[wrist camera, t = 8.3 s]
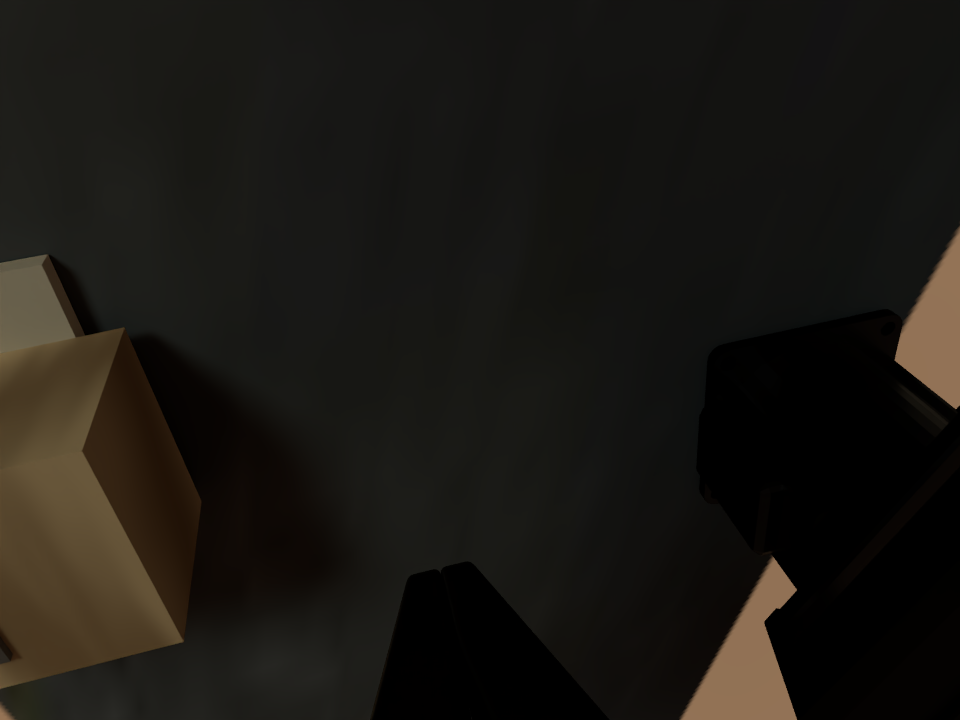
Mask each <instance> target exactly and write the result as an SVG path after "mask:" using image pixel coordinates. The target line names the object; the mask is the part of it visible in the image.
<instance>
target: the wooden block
mask: <svg viewBox="0 0 960 720" xmlns="http://www.w3.org/2000/svg"><path fill="white" fill-rule="evenodd" d="M201 502H202V501H201V499H200V497H199V495H198V492H197V490H196V488H195V486H194V483H193V481H192V479H191V476H190V474H189V472H188V470H187V467H186V465H185V463H184V461H183V458H182V456H181V454H180V452H179V449H178V447H177V445H176V443H175V440H174V438H173V436H172V434H171V431H170V429H169V427H168V425H167V422H166V420H165V418H164V415H163V413H162V411H161V409H160V406H159V404H158V402H157V400H156V397H155V395H154V393H153V391H152V388H151V386H150V384H149V382H148V379H147V377H146V375H145V373H144V370H143V368H142V366H141V364H140V361H139V359H138V357H137V354H136V352H135V350H134V348H133V345H132V343H131V341H130V339H129V336H128V334H127V332H126V330H125V327H124V328H120V329H115V330H110V331H105V332H101V333H96V334H91V335H86V336H81V337H77V338H72V339H67V340H62V341H58V342H53V343H48V344H43V345H38V346H34V347H29V348H24V349H19V350H15V351H10V352H5V353H0V689H1V688H5V687H9V686H13V685H17V684H20V683H24V682H28V681H32V680H36V679H40V678H44V677H48V676H52V675H56V674H60V673H64V672H67V671H71V670H75V669H79V668H83V667H87V666H91V665H95V664H99V663H103V662H107V661H110V660H114V659H118V658H122V657H126V656H130V655H134V654H138V653H142V652H146V651H150V650H154V649H157V648H161V647H165V646H169V645H173V644H177V643H181V642H184V635H185V627H186V620H187V612H188V604H189V596H190V588H191V580H192V572H193V565H194V557H195V549H196V541H197V533H198V525H199V518H200V510H201Z"/></svg>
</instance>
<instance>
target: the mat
mask: <svg viewBox="0 0 960 720" xmlns="http://www.w3.org/2000/svg"><path fill="white" fill-rule="evenodd" d="M81 336H85V334H84V332H83V330H82V327H81V325H80V323H79V321H78V319H77V316H76V314H75V312H74V310H73V308H72V306H71V303H70V301H69V299H68V297H67V295H66V293H65V290H64V288H63V286H62V284H61V282H60V279H59V277H58V275H57V273H56V271H55V269H54V266H53V264H52V262H51V260H50V258H49V255H48V254H47V255H41V256H36V257H30V258H25V259H19V260H14V261H8V262H3V263H0V353H5V352H10V351H15V350H19V349H24V348H29V347H34V346H38V345H43V344H48V343H53V342H58V341H62V340H67V339H72V338H77V337H81Z"/></svg>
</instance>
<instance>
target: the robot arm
mask: <svg viewBox="0 0 960 720" xmlns="http://www.w3.org/2000/svg"><path fill="white" fill-rule="evenodd" d="M885 324H886V325H885ZM884 325H885V326H884ZM883 326H884V327H883ZM882 327H883V328H882ZM901 329H902V319H901V318H900V317H899V316H898V315H897V314H895V313H894V312H892V311H890V310H888V309H883V310H878V311H874V312H869V313H864V314H860V315H855V316H851V317H846V318H841V319H837V320H832V321H828V322H823V323H818V324H814V325H809V326H805V327H800V328H796V329H791V330H786V331H782V332H777V333H773V334H768V335H763V336H759V337H754V338H750V339H745V340H740V341H736V342H731V343H727V344H723V345H720V346H718V347H716V348H715V349H714V350H712V352H711V353H710V355H709V357H708V361H707V377H706V392H705V408H703V410H702V412H701V414H700V417H699V433H698V450H697V466H696V469H697V472H698V473H699V475H700V485H699V490H700V493H701V495H702V496H703V498H704V499H705V501H706V502H707V503H710V504H717V503H720V505H721V506H722V508H723V509H724V511H725V512H726V513H727V515H728V516H729V518H730V519H731V521H732V522H733V524H734V525H735V526H736V528H737V529H738V531H739V532H740V534H741V535H742V536H743V538H744V539H745V541H746V542H747V544H748V545H749V547H750V548H751V549H752V550H753V551H754V552H756V553H757V554H759V555H766V554H770V553H771V554H772V556H773V557H774V558H775V560H776V561H777V562H778V564H779V565H780V567H781V568H782V569H783V571H784V572H785V574H786V575H787V576H788V578H789V579H790V581H791V582H792V583H793V585H794V586H795V588H796V589H797V591H796V592H795V593H794V594H793V596H791V598H790V599H789V600H788V601H787V602H786V603H785V604H784V605H783V606H782V607H781V609H777V608H776V609H775V610H774V611H773V613H772V614H771V615H770V616H769V617H768V618H767V619H766V620H765V627H766V630H767V632H768V635H769V638H770V641H771V644H772V647H773V650H774V653H775V656H776V659H777V662H778V665H779V667H780V671H781V673H782V676H783V679H784V682H785V685H786V688H787V691H788V694H789V697H790V700H791V703H792V706H793V709H794V712H795V714H796V717H797V720H960V406H959V407H958V408H957V409H955V408H953V407H952V406H951V405H950V404H948V403H947V402H946V401H945V400H943V399H942V398H941V397H940V396H938V395H937V394H936V393H934V392H933V391H932V390H931V389H930V388H928V387H927V386H926V385H925V384H923V383H922V382H921V381H919V380H918V379H917V378H916V377H914V376H913V375H912V374H911V373H909V372H908V371H907V370H906V369H904V368H903V367H902V366H901V365H899V364H898V363H897V362H896V361H894V360H895V355H896V351H897V346H898V342H899V338H900V333H901ZM728 357H729V360H728V361H727V362H726V363H723V364H721V363H722V361H723V360H724V359H726V358H728ZM441 577H442V578H441ZM469 708H470V709H469ZM470 713H471V714H470ZM471 717H472V719H471ZM370 720H609V719H608V718H607V716H606V715H605V714H604V713H603V712H602V711H601V710H600V708H599V707H598V706H597V705H596V704H595V703H594V701H593V700H592V699H591V698H590V697H589V696H588V695H587V693H586V692H585V691H584V690H583V689H582V688H581V687H580V685H579V684H578V683H577V682H576V681H575V680H574V679H573V677H572V676H571V675H570V674H569V673H568V672H567V671H566V669H565V668H564V667H563V666H562V665H561V664H560V663H559V661H558V660H557V659H556V658H555V657H554V656H553V655H552V653H551V652H550V651H549V650H548V649H547V648H546V647H545V645H544V644H543V643H542V642H541V641H540V640H539V638H538V637H537V636H536V635H535V634H534V633H533V632H532V630H531V629H530V628H529V627H528V626H527V625H526V624H525V622H524V621H523V620H522V619H521V618H520V617H519V616H518V614H517V613H516V612H515V611H514V610H513V609H512V608H511V606H510V605H509V604H508V603H507V602H506V601H505V600H504V598H503V597H502V596H501V595H500V594H499V593H498V592H497V590H496V589H495V588H494V587H493V586H492V585H491V584H490V582H489V581H488V580H487V579H486V578H485V577H484V575H483V574H482V573H481V572H480V571H479V570H478V569H477V567H476V566H475V565H474V564H472V563H471V562H462V563H458V564H454V565H450V566H446V567H444V568H443V569H442V570H441V574H440V572H439V571H438V570H436V569H433V570H429V571H425V572H421V573H417V574H413V575H411V576H410V577H409V578H408V580H407V582H406V586H405V590H404V593H403V597H402V601H401V605H400V609H399V612H398V616H397V620H396V624H395V628H394V631H393V635H392V639H391V643H390V646H389V650H388V654H387V658H386V662H385V665H384V669H383V673H382V677H381V680H380V684H379V688H378V692H377V696H376V699H375V703H374V707H373V711H372V715H371V718H370Z"/></svg>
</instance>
